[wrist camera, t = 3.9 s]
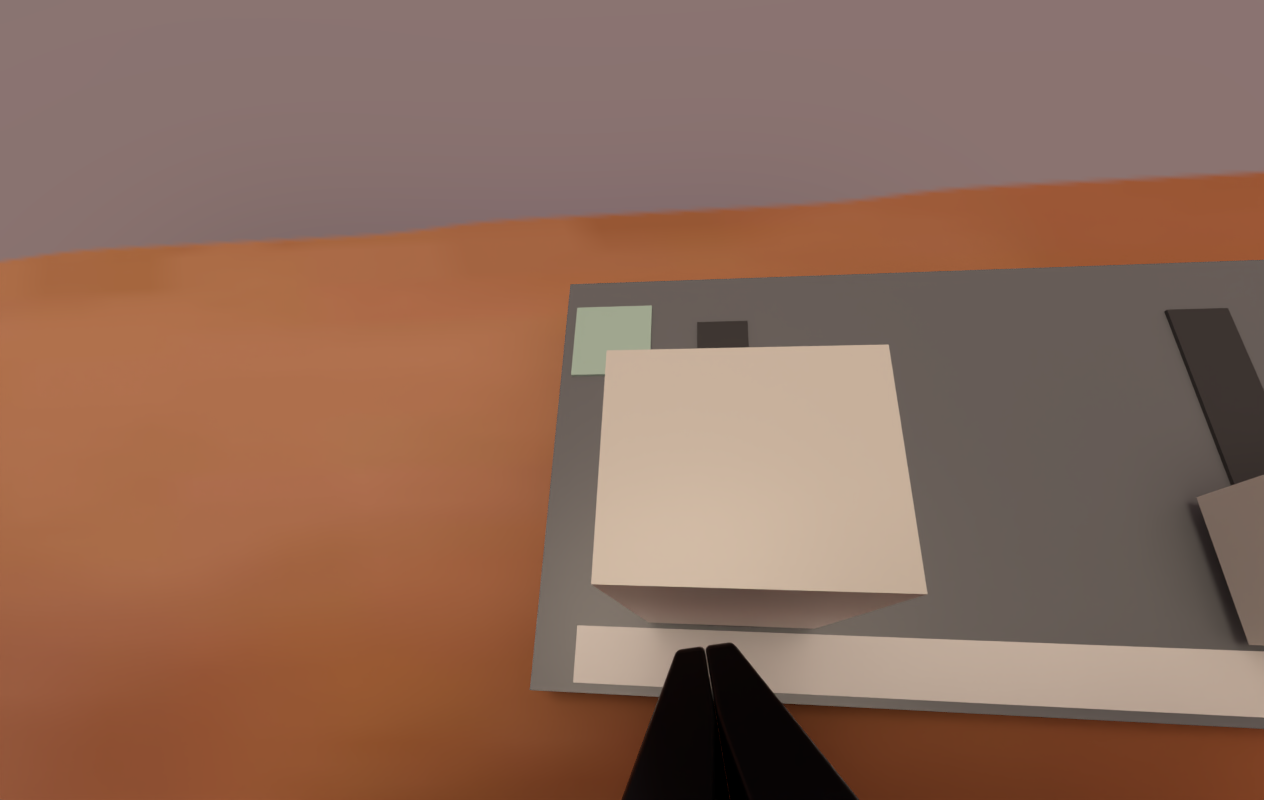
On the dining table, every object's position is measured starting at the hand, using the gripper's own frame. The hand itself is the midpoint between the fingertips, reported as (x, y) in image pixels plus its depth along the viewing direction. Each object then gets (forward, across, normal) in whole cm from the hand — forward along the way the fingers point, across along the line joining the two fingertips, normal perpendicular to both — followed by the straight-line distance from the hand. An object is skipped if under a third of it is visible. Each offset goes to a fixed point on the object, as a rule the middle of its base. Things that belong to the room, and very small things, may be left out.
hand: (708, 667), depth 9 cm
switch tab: (+5, -1, +2) cm, 5 cm away
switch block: (+7, -7, +2) cm, 10 cm away
